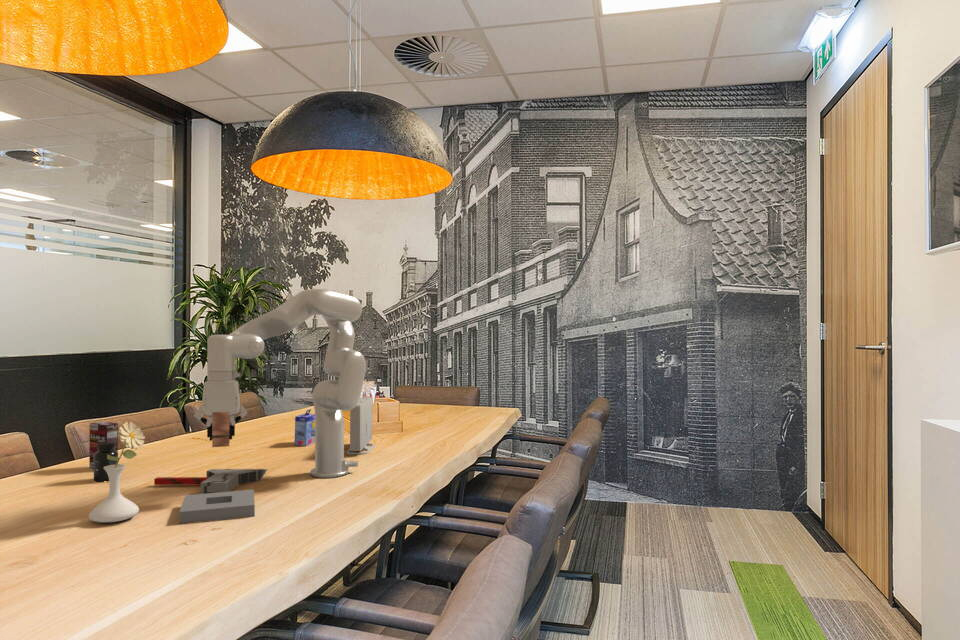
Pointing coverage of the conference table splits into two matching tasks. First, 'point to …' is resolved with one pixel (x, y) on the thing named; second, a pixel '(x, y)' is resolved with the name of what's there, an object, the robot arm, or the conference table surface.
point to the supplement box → (102, 437)
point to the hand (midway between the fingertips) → (221, 438)
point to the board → (217, 506)
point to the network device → (361, 427)
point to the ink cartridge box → (305, 429)
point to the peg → (220, 429)
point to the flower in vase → (115, 503)
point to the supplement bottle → (103, 460)
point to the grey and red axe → (216, 479)
